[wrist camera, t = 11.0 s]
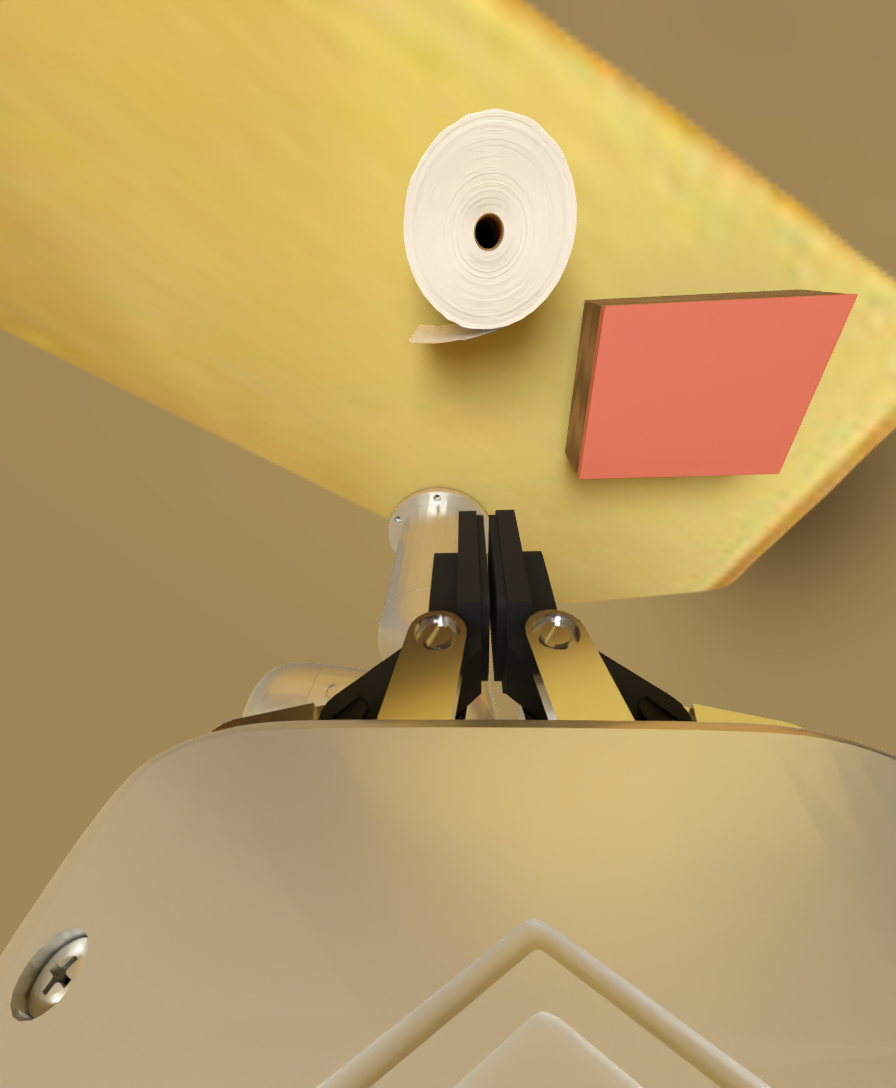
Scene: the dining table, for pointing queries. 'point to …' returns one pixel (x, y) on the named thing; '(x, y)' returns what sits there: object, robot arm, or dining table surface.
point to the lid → (705, 384)
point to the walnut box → (589, 343)
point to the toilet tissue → (488, 223)
